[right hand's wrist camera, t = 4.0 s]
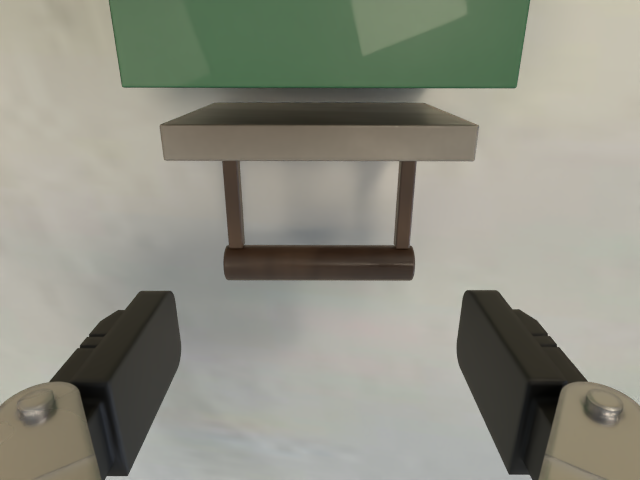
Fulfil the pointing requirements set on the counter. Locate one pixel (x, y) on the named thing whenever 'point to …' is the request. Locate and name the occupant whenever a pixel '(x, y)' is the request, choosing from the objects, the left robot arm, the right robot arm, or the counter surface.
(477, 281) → the counter surface
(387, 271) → the drawer
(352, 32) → the cabinet
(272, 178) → the counter surface
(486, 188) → the counter surface
